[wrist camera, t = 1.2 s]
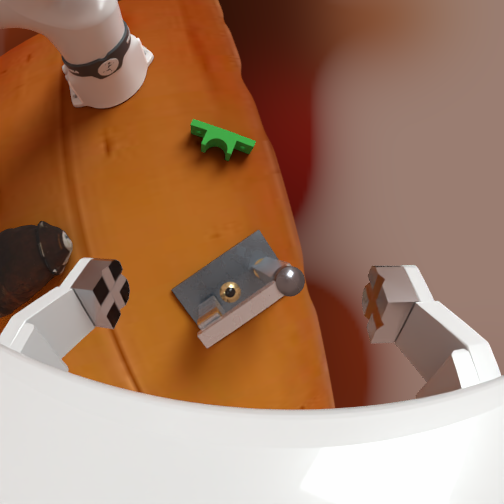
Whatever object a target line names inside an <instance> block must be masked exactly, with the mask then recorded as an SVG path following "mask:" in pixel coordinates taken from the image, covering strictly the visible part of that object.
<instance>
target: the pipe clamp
mask: <svg viewBox="0 0 504 504" xmlns="http://www.w3.org/2000/svg"><path fill="white" fill-rule="evenodd" d="M191 134H193V135H196V136H199V137H202V138H203V141H202V143H201V152H204V153H205V152H206V150H207V149H209V148H210V147H219V148H221V149H222V150H223V151H224V153H225V160H227V161H229V159H230V156H231V154H232V151H233V149H236V150H239V151H242V152H244V153H247V154H250V152H251V151H252V149H253V147H254V145H255V142H256V141H254V140H251V139H249V138H246V137H243V136H241V135H238V134H235V133H233V132H230V131H227V130H224V129H221V128H218V127H216V126H213V125H210V124H207V123H204V122H201V121H198V120H194V119H193V121H192V123H191Z"/></svg>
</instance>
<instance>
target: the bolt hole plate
mask: <svg viewBox="0 0 504 504" xmlns="http://www.w3.org/2000/svg"><path fill="white" fill-rule="evenodd" d="M265 257H269V258H273V259H276V260H278V258H277V257H276V255H275V254H274V252H273V251H272V249H271V248H270V246H269V245H268V243H267V242H266V240H265V238H264V237H263V235H262V234H261V232H260V231H259V230H257V231H256V232H254V233H253V234H251V235H250V236H248V237H247V238H245V239H244V240H242V241H241V242H240V243H238V244H237V245H235V246H234V247H232V248H231V249H229V250H228V251H226V252H225V253H223V254H222V255H221V256H219V257H218V258H216V259H215V260H213V261H212V262H210V263H209V264H207V265H206V266H205V267H203V268H202V269H200V270H199V271H197V272H196V273H194V274H193V275H192V276H190V277H189V278H187V279H186V280H184V281H183V282H182V283H180V284H179V285H177V286H176V287H174V288H173V289H172V291H173V293H174V294H175V295H176V297H177V298H178V300H179V301H180V302H181V304H182V305H183V306H184V308H185V309H186V311H187V312H188V313H189V315H190V316H191V317H192V319H193V320H194V321H195V322H196V324H197V319H198V315H199V305H200V304H201V303H203V302H204V301H205V300H207V299H208V298H210V297H211V296H213V295H214V296H215V298H216V299H217V301H218V302H219V303H220V305H221V306H222V307H223V309H224V311H225V313H227V312H228V311H229V310H231V309H232V308H234V307H235V306H237V305H238V304H240V303H241V302H242V301H244V300H245V299H247V298H248V297H250V296H251V295H252V294H254V293H255V292H257V291H258V290H260V289H261V288H262V287H264V286H265V285H267V284H265V283H264V282H262V281H261V280H260V278H259V276H258V275H257V274H256V272H255V271H254V269H253V268H252V266H254V265H255V264H257V263H258V262H259V261H261V260H262V259H264V258H265ZM197 325H198V324H197Z"/></svg>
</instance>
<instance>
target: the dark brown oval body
mask: <svg viewBox="0 0 504 504" xmlns="http://www.w3.org/2000/svg"><path fill="white" fill-rule="evenodd" d="M71 252H72V242H71V240H70V239H69V237H68V236H67V234H66V233H65V231H63V230H62V229H60V228H58V227H55V226H51V225H49V224H48V223H46V222H44V221H40V222H39V224H38V226H35V225H27V226H21V227H17V228H14V229H6V230H4V231H2V232H1V233H0V318H1V317H4V316H6V315H8V314H11V313H12V312H13V311H14V310H15V309H17V308H18V307H19V306H21V305H22V304H23V303H25V302H27V301H28V300H29V299H30V298H31V297H32V296H33V295H34V294H35V293H37V292H38V291H39V290H40V289H41V288H42V287H44V286H45V285H46V284H47V283H48V282H49V281H50V280H51V279H52V278H53V277H54V276H55V275H59V274H61V273H62V272H63V271H64V268H65V266H66V263H67V262H68V260H69V257H70V254H71Z"/></svg>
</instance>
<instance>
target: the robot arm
mask: <svg viewBox="0 0 504 504" xmlns="http://www.w3.org/2000/svg"><path fill="white" fill-rule="evenodd" d="M3 28H24V29H29V30H33V31H36V32H38V33H40V34H42V35H44V36H46V37H47V38H48V39H49V40H50V41H51V42H52V43H53V44H54V46H55V47H56V48H57V49H58V51H59V52H60V53H61V55H62V60H63V62H64V65H63V66H62V69H63V72H64V74H65V78H66V80H67V81H68V80H69V81H68V84H69V87H70V93H71V99H72V104H73V105H74V107H83V106H90V107H94V108H109V107H113V106H116V105H118V104H120V103H122V102H124V101H126V100H127V99H129V98H130V97H131V96H132V95H134V94H135V93H136V92H137V90H138V89H139V88H140V87H141V85H142V83H143V82H144V79H145V76H146V72H147V68H148V66H149V65H150V63H151V62H152V60H153V58H154V56H153V54H152V53H151V52H150V51H149V50H147V49H146V48H145V47H143V46H142V44H141V42H140V39H139V38H136V37H135V36H133V35H131V34H130V31H129V28H128V26H127V24H126V22H125V21H124V20H123V19H122V16H121V12H120V9H119V5H118V2H117V0H0V29H3ZM145 54H146V55H145ZM66 74H67V75H66ZM76 97H77V98H76ZM122 270H123V269H122V266H121V264H120V262H119V261H117V260H114V259H100V258H82V259H80V260H79V261H78V263H77V264H76V265H75V267H74V268H73V269H72V271H71V272H70V273H69V275H68V276H67V277H66V279H65V280H64V281H63V283H62V284H61V285H60V287H55V288H54V289H52V290H51V291H49V292H48V293H46V294H45V295H43V296H42V297H40V298H38V299H37V300H35V301H34V302H33V303H31V304H30V305H28V306H27V307H25V308H24V309H22V310H21V311H19V312H18V313H16V314H15V315H14V316H12V317H11V319H10V320H9V322H8V324H7V325H6V327H5V328H4V330H3V332H2V333H1V335H0V504H504V375H503V376H501V374H500V371H499V368H498V366H497V363H496V360H495V358H494V355H493V353H492V350H491V348H490V346H489V343H488V342H487V341H486V340H485V339H483V338H482V337H481V336H480V335H479V334H478V333H477V332H475V331H474V330H473V329H471V327H469V326H468V325H467V324H466V323H465V322H463V321H462V320H461V319H460V318H459V317H457V316H456V315H455V314H454V313H452V312H451V311H450V310H449V309H447V308H446V307H445V306H444V305H442V304H441V303H440V302H439V301H434V299H433V297H432V295H431V293H430V291H429V289H428V287H427V285H426V283H425V281H424V279H423V277H422V275H421V273H420V271H419V269H418V268H417V267H416V266H415V265H402V266H372V267H371V269H370V271H369V274H368V277H369V281H370V283H368V284H367V285H366V286H365V288H364V292H363V299H362V306H363V312H364V316H365V317H367V318H368V319H369V322H368V324H367V330H368V333H369V338H370V343H390V342H395V345H396V346H397V347H398V348H399V349H400V350H401V352H402V353H403V354H404V355H405V356H406V357H407V359H408V360H409V361H410V362H411V364H412V365H413V366H414V367H415V368H416V370H417V371H418V372H419V373H420V374H421V376H422V377H423V378H424V379H425V381H426V382H427V383H426V384H425V385H424V386H423V387H422V389H421V390H420V391H419V392H418V393H417V395H416V399H413V400H407V401H401V402H395V403H388V404H380V405H372V406H363V407H352V408H337V409H315V410H276V409H253V408H239V407H227V406H217V405H209V404H201V403H194V402H187V401H181V400H175V399H169V398H164V397H158V396H153V395H149V394H144V393H139V392H135V391H131V390H127V389H123V388H119V387H115V386H111V385H108V384H104V383H100V382H97V381H94V380H90V379H87V378H84V377H81V376H78V375H75V374H72V373H69V372H68V370H69V369H68V366H67V365H66V364H65V363H64V362H63V361H62V358H63V357H64V356H65V355H66V354H67V353H68V352H69V351H70V350H71V349H72V348H73V347H74V346H75V345H76V344H78V343H79V342H80V341H81V340H82V339H83V338H84V337H85V336H86V335H87V334H88V333H89V332H91V331H92V330H93V329H94V328H95V326H97V327H103V328H110V329H114V328H115V325H116V323H117V321H118V319H119V317H120V315H121V313H120V309H121V308H122V307H124V306H125V305H126V303H127V301H128V299H129V293H130V289H129V284H128V281H127V279H126V278H125V277H124V276H123V275H122V274H121V273H122Z"/></svg>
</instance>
